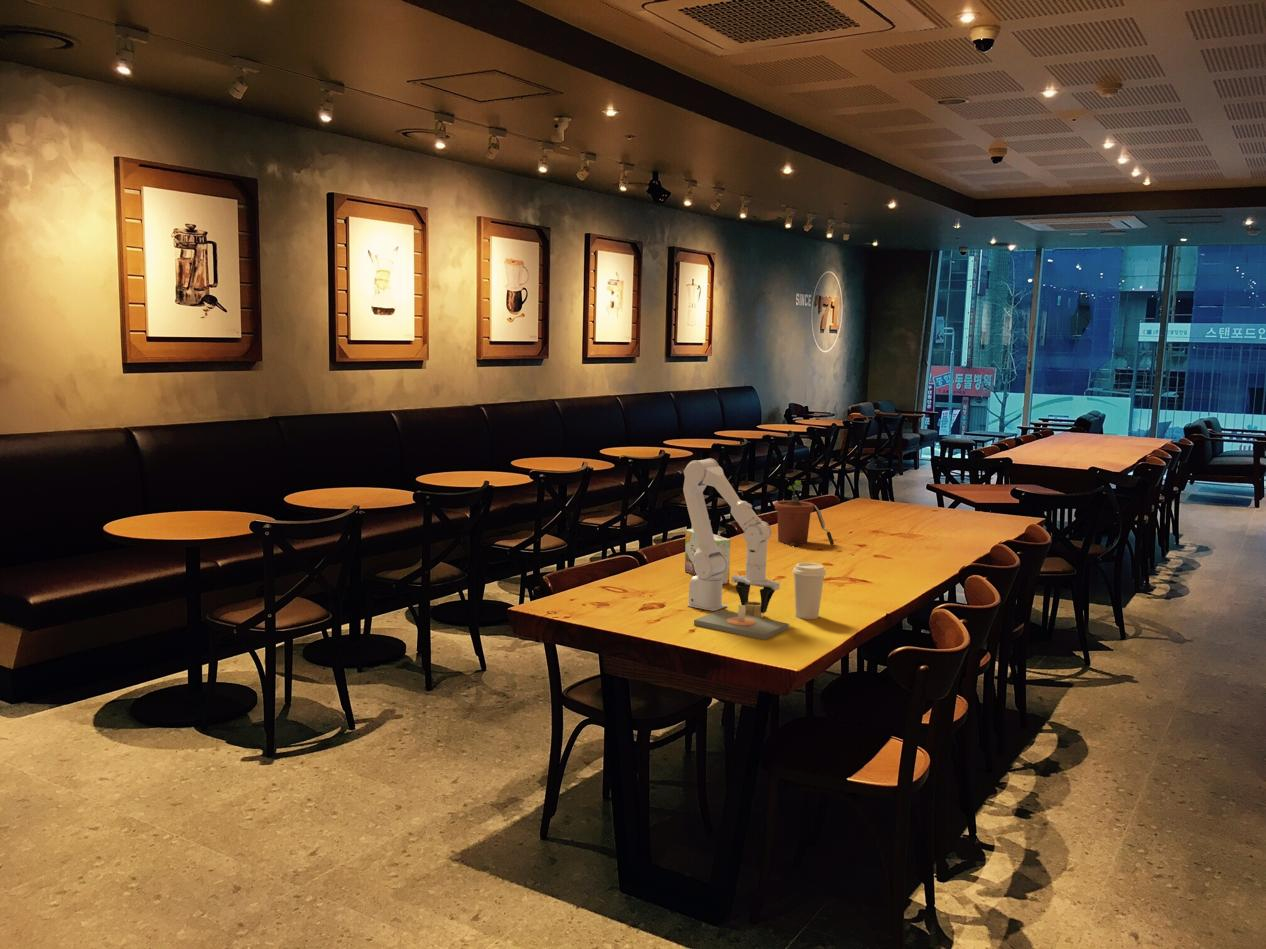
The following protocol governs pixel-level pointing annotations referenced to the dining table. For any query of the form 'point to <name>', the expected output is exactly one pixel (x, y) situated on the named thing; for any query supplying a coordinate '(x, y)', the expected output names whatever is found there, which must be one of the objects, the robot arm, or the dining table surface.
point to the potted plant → (796, 520)
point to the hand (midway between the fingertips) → (754, 610)
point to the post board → (741, 624)
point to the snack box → (692, 547)
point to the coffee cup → (808, 589)
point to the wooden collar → (753, 609)
